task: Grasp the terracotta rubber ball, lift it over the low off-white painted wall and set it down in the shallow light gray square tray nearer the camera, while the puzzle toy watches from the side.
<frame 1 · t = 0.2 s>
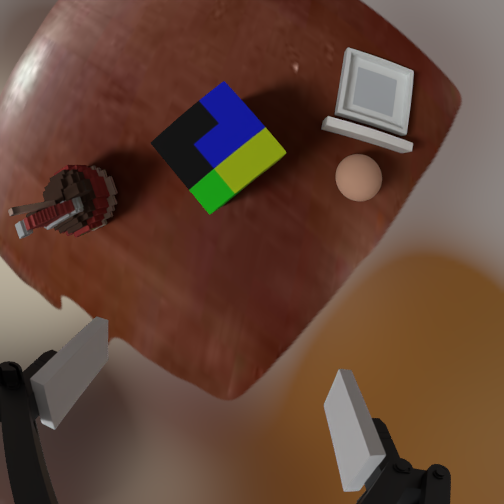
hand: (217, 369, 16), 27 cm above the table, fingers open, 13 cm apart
low wall: (363, 136, 39), on the table
cake: (92, 197, 42), on the table
light gray square tray: (374, 92, 37), on the table
puzzle toy: (227, 154, 40), on the table
ball: (352, 177, 40), on the table
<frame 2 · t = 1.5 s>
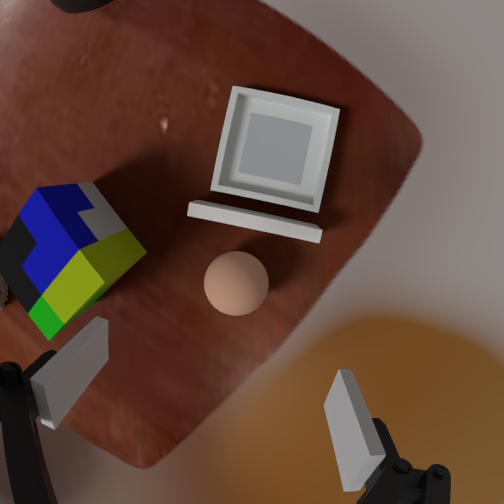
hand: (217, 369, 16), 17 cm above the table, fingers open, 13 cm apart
low wall: (255, 217, 31), on the table
light gray square tray: (275, 148, 29), on the table
puzzle toy: (92, 244, 32), on the table
ball: (238, 273, 32), on the table
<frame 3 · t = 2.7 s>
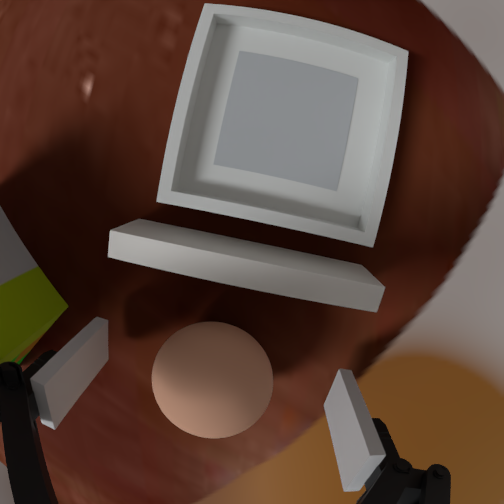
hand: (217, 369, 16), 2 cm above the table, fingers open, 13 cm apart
low wall: (248, 252, 16), on the table
light gray square tray: (287, 118, 14), on the table
puzzle toy: (2, 286, 17), on the table
ball: (219, 349, 17), on the table
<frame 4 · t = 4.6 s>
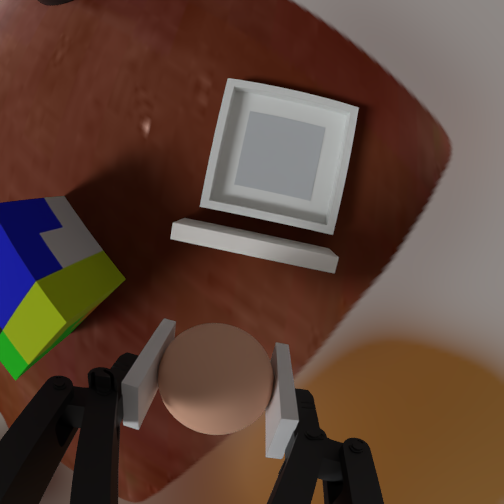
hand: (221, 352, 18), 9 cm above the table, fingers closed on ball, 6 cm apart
low wall: (255, 239, 25), on the table
light gray square tray: (280, 155, 24), on the table
puzzle toy: (65, 268, 27), on the table
ball: (222, 351, 18), point 8 cm above the table, touching gripper
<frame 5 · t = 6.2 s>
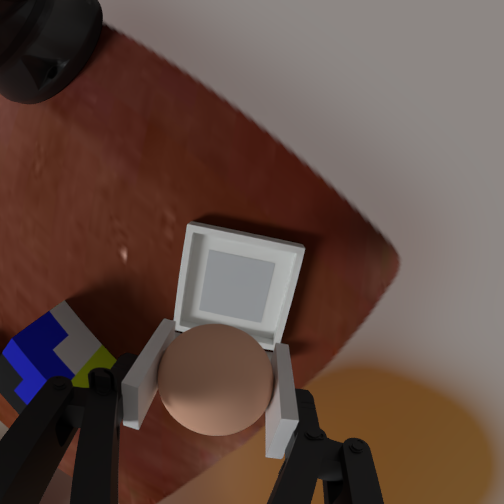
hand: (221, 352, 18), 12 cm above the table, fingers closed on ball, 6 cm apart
light gray square tray: (236, 285, 29), on the table
puzzle toy: (73, 351, 32), on the table
ball: (222, 351, 18), point 12 cm above the table, touching gripper
when the fingers open (2 cm above the table, at t = 8.2 s): ball stays where it is, resting on light gray square tray.
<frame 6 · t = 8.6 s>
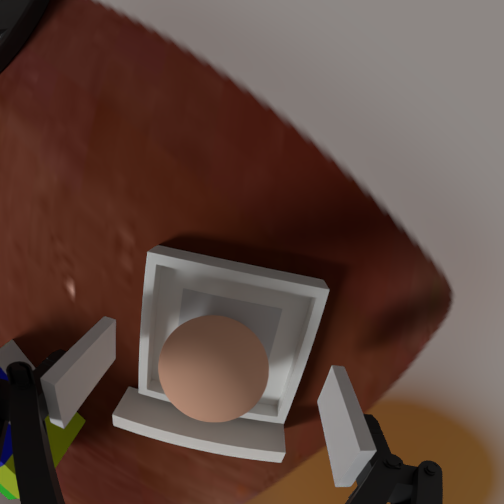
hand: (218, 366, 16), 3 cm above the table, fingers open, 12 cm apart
low wall: (203, 412, 21), on the table
light gray square tray: (225, 337, 20), on the table
puzzle toy: (31, 397, 23), on the table
ball: (224, 344, 19), point 1 cm above the table, tilted 5°, touching light gray square tray
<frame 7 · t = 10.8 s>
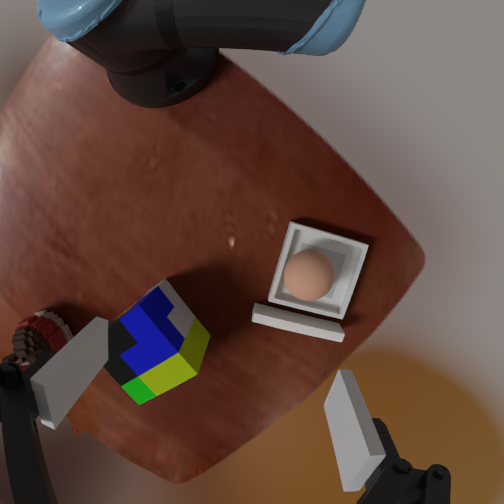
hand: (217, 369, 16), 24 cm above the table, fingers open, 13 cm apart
low wall: (296, 317, 41), on the table
cake: (55, 333, 44), on the table
light gray square tray: (316, 269, 40), on the table
puzzle toy: (162, 324, 42), on the table
ball: (317, 272, 39), point 1 cm above the table, tilted 31°, touching light gray square tray
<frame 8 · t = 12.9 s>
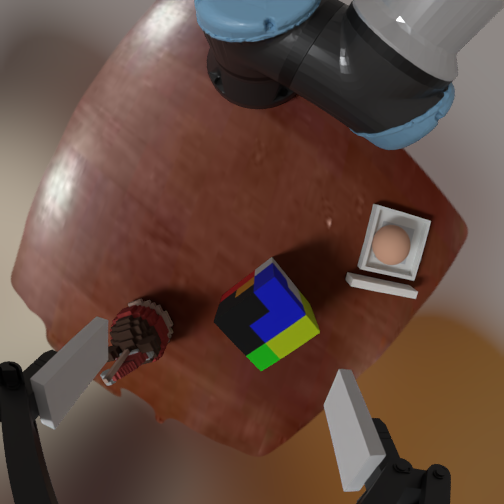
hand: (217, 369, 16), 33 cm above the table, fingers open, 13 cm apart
low wall: (378, 282, 49), on the table
cake: (148, 322, 52), on the table
light gray square tray: (393, 242, 47), on the table
puzzle toy: (266, 299, 50), on the table
ball: (395, 244, 46), point 1 cm above the table, tilted 38°, touching light gray square tray
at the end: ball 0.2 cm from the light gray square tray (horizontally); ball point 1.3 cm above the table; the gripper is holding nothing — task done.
